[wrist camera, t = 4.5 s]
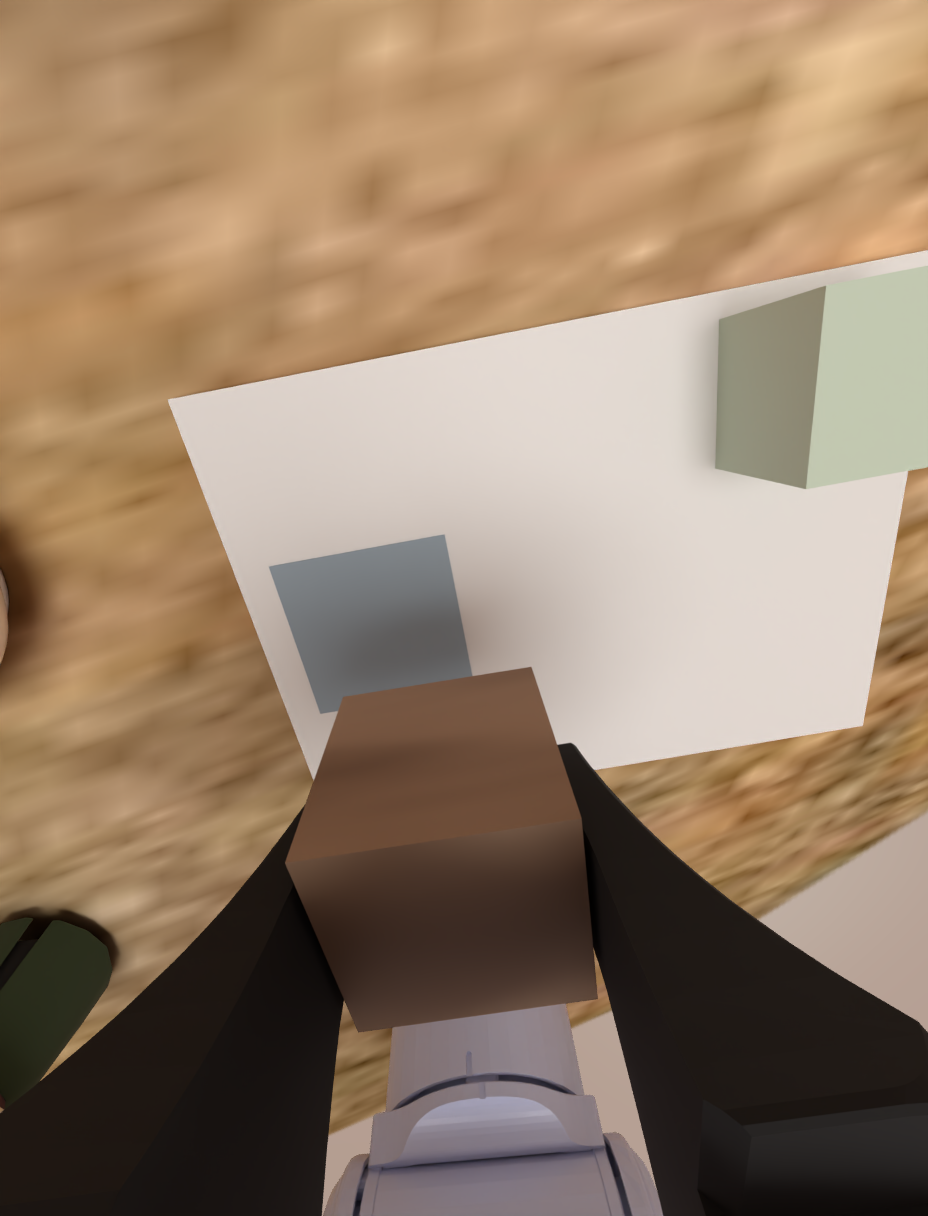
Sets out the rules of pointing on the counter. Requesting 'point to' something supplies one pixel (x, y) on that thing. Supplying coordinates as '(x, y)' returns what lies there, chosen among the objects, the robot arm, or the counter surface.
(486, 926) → the walnut block
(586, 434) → the board
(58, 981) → the character mug
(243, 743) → the counter surface
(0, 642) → the lidded jar
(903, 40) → the counter surface
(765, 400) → the sage block
